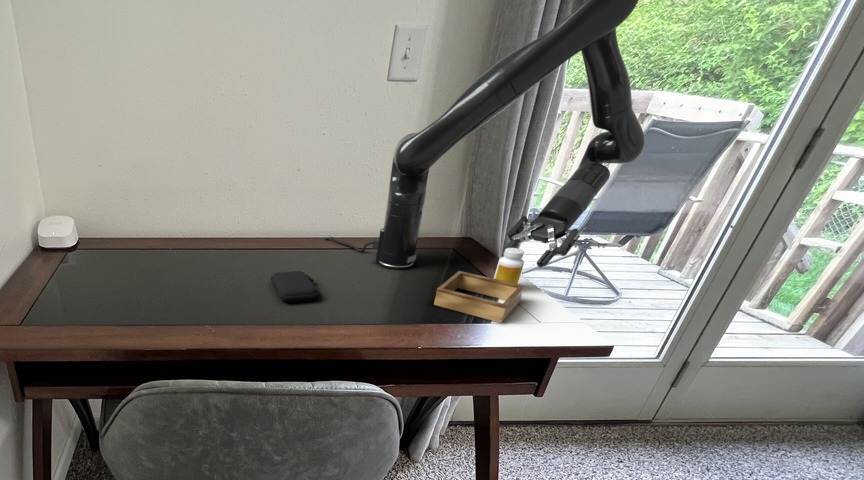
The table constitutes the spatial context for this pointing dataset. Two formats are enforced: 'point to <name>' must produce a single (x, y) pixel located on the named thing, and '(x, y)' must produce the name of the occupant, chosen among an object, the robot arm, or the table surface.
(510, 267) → the supplement bottle
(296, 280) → the carrying case
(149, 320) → the table surface
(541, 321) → the table surface
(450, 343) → the table surface
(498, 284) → the wooden box frame
